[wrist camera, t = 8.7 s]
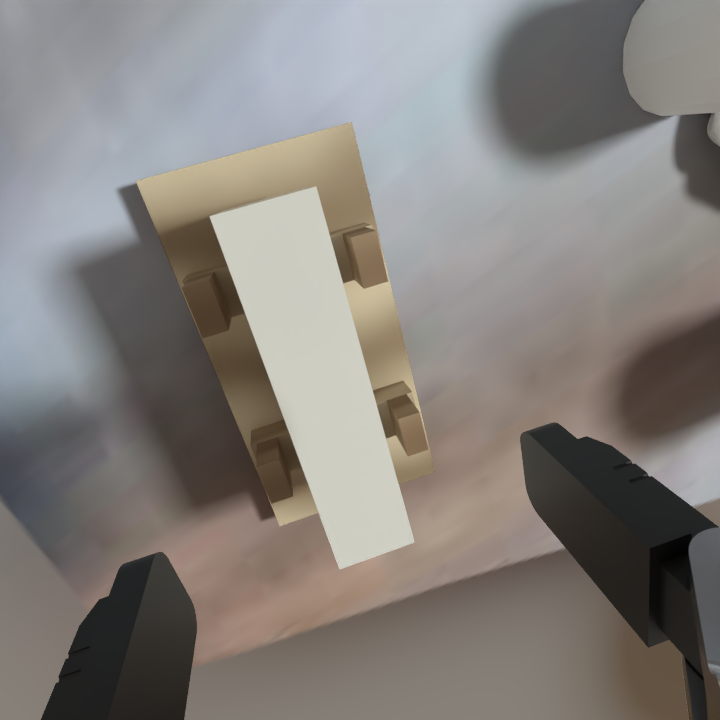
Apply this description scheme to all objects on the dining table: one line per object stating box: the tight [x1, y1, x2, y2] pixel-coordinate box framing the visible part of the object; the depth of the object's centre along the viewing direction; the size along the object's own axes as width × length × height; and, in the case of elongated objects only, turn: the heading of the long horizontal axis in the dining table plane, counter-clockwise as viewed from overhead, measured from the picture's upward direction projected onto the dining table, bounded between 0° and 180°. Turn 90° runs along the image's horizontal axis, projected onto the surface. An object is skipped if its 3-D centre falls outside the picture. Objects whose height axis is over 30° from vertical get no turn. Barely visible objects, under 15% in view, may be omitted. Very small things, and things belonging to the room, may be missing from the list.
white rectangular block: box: [210, 186, 414, 569], centre depth 18 cm, size 14×3×5 cm, turn 15°
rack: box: [136, 122, 435, 526], centre depth 21 cm, size 18×9×4 cm, turn 15°
